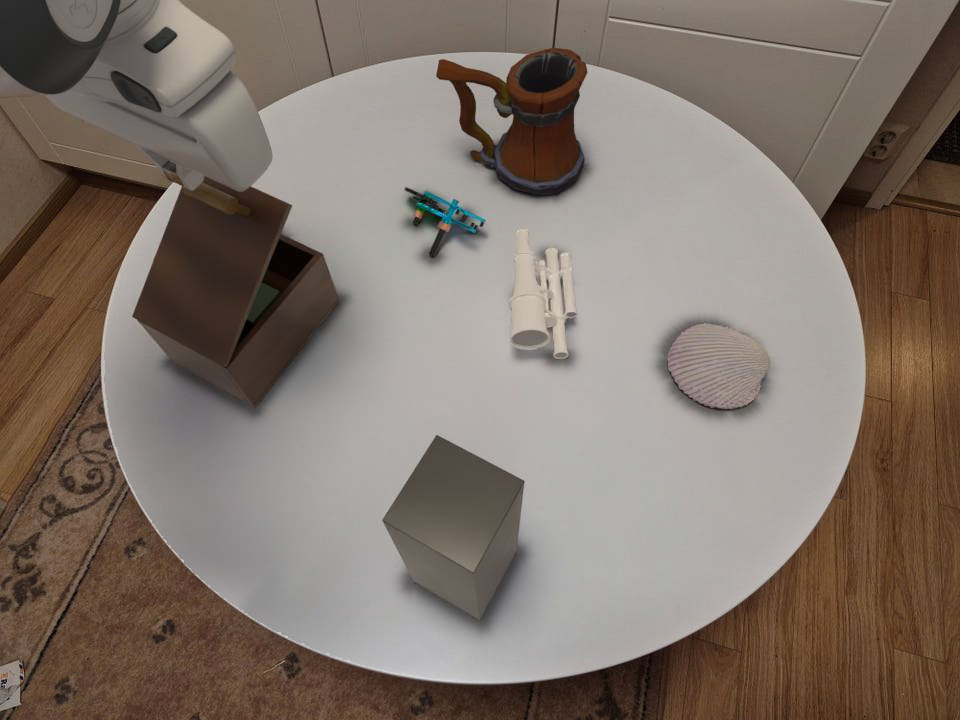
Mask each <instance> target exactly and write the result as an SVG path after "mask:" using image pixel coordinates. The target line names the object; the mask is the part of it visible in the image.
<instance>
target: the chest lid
mask: <svg viewBox="0 0 960 720" xmlns="http://www.w3.org/2000/svg"><path fill="white" fill-rule="evenodd" d="M292 208H293V204H291V203H288V202H286V201H284V200H282V199H280V198H278V197H276V196H273V195H271V194H269V193H266V192H265V191H262V190H260V189H259V188H255V187H253V186H250V187H249V188H248V189H247V190H246V191H243V192H239V191H236V190H233V189H231V188H229V187H227V186H225V185H223V184H221V183H219V182H216V181H214V180H212V179H210V178H208V177H206V176H204V180H203V182H202V183H201V184H200V185H199V186H198V187H197V188H196V189H195V190H193V191H191V190H189V189H186V188H185V187H183V186H181V187H180V190H179V193H178V195H177V198H176V201H175V203H174V206H173V207H172V211H171V213H170V216H169V218H168V221H167V224H166V227H165V229H164V232H163V234H162V236H161V240H160V242H159V244H158V248H157V250H156V252H155V255H154V258H153V261H152V263H151V266H150V268H149V271H148V273H147V276H146V278H145V282H144V284H143V287H142V289H141V292H140V294H139V297H138V300H137V302H136V305H135V308H134V310H133V313H132V315H131V317H132V318H133V319H135V320H136V321H137V320H138V321H140V322H142V323H144V324H146V325H148V326H149V327H151V328H153V329H155V330H157V331H159V332H160V333H162V334H164V335H166V336H168V337H170V338H171V339H173V340H175V341H177V342H179V343H181V344H182V345H184V346H186V347H188V348H190V349H192V350H193V351H195V352H197V353H199V354H201V355H203V356H204V357H206V358H208V359H210V360H212V361H214V362H215V363H217V364H219V365H221V366H223V367H227V366H228V364H229V361H230V359H231V356H232V354H233V352H234V349H235V347H236V344H237V342H238V339H239V337H240V334H241V332H242V329H243V327H244V324H245V322H246V319H247V317H248V314H249V312H250V309H251V307H252V304H253V302H254V300H255V297H256V295H257V292H258V290H259V287H260V285H261V282H262V280H263V277H264V275H265V272H266V270H267V267H268V265H269V262H270V260H271V257H272V255H273V252H274V250H275V248H276V245H277V243H278V240H279V238H280V235H281V234H282V232H283V230H284V227H285V226H286V222H287V220H288V217H289V215H290V213H291V210H292ZM138 321H137V322H138Z"/></svg>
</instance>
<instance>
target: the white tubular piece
mask: <svg viewBox="0 0 960 720" xmlns="http://www.w3.org/2000/svg"><path fill="white" fill-rule="evenodd" d="M529 234H530V231H529V229H527V228H519V229H517V231H516V237H517V239H516V241H517V243H516V250H515V254H514V256H513V258H512V259H513V260H512V261H513V263H514V270H515V271H514V274H515V275H514V276H515V277H514V278H515V282H514V288H513V293H512V296H511V297H510V298H509V300H508V307H509V310H510V311H511V333H510V335H509V343H510V344H511V346H513V347H514V348H516V349H519V350H524V351H525V350H526V351H528V350H529V351H530V350H531V351H532V350H537V349H540V348H543V347H545V346H546V345H548V344H549V342H550V340H551V335H550V333H549V330H548V328H552V337H553V350H554V352H553V353H552V356H553V358H554V359H557V360H563V359H566V358H568V357H569V351H568V349H567V338H566V326H565V323H566V321H567V320H568V319H574V318H576V317H577V316H578V311H577V308H576V299H575V291H574V289H575V288H574V281H573V267H572V261H571V257H572V255H571V253H570V252H568V251H565V252H561V253H560V254H559V249H557V248H556V247H549V248H547V249H546V250H545V251H544V255H545V257H546V260H544V259H540V260H539V262H538V261H536V255H535V254H534V253H533V251H532V247H531V245H530V238H529ZM558 255H559V256H558ZM559 260H560V266H559ZM545 261H546V262H545ZM560 267H561V268H560ZM536 272H537V273H539V277H540V284H538V281H537V275H536ZM561 279H562V286H561ZM547 282H548V284H547ZM562 288H563V296H562ZM563 297H564V298H563ZM563 299H564V306H565V311H564V309H563V308H564V307H563ZM549 302H550V307H549Z"/></svg>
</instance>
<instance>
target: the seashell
mask: <svg viewBox="0 0 960 720" xmlns="http://www.w3.org/2000/svg"><path fill="white" fill-rule="evenodd" d="M666 358H667V369H668V371H669V372H670V373H671V377H672V378H673V379H674V382H675V383H676V384H677V385H678V389H679V390H681V391H683V394H684V395H688V398H691V399H692V401H694V402H697V403H698V404H703V406H705V407H709V408H711V409H713V408H717V409H721V410H727V409H729V410H734V409H738V408H742V407H744V406H747V405H748V404H750V403H752V402H753V401H755V399H756V398H757V397H758V395H759V394H760V392H761V391H760V390H761V388H762V382H763V379H764V377H765V376H766V375H767V373H768V371H769V370H770V367H771V364H772V363H771V362H772V361H771V358H770V355H769V353H768V352H767V350H766V349H765V348H764V347H763V346H762V345H761V344H760V343H759V342H757V341H756V340H755V339H753V338H751V337H750V336H748V335H745V334H743V333H741V332H739V331H738V330H736V328H733V327H731V326H730V327H729V326H728V325H726V326H724V325H723V324H721V325H720V324H719V325H717V324H712V323H706V322H704V323H698V324H695V325H692V326H690V328H686V329H685V330H684V331H680V334H679V335H678V336H677V337H676V338H675V340H674V342H672V345H671V347H669V351H668V354H667V357H666Z"/></svg>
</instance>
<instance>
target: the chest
mask: <svg viewBox="0 0 960 720" xmlns="http://www.w3.org/2000/svg"><path fill="white" fill-rule="evenodd" d="M262 283H264V284H266V285H268V286H270V287H272V288H274V289H276V290H278V291H280V293H281V296H280V297H279V298H278V299H277V300H276V302H275V303H274V304H273V305H272V306H271V308H270V309H269V310H268V311H267V312H266V314H265V315H264V316H263V317H262V318H261V319H260V321H259V322H258V323H257V324H256V325H255V327H254V328H253V329H252V330H251V331H250V332H249V334H248V335H247V334H245V333H243V332H241V334H240V337H239V339H238V342H237V344H236V347H235V349H234V352H233V354H232V356H231V359H230V361H229V364H228V366H227V367H223V366H221V365H219V364H217V363H215V362H214V361H212V360H210V359H208V358H206V357H204V356H203V355H201V354H199V353H197V352H195V351H193V350H192V349H190V348H188V347H186V346H184V345H182V344H181V343H179V342H177V341H175V340H173V339H171V338H170V337H168V336H166V335H164V334H162V333H160V332H159V331H157V330H155V329H153V328H151V327H149V326H148V325H146V324H144V323H142V322H140V321H138V320H137V319H136V321H137V322H138V324H140V325H141V327H142V328H143V329H144V330H145V331H146V332H147V333H148V335H149V336H150V337H151V338H152V339H153V341H154V342H155V343H156V344H157V346H159V348H160V349H161V350H162V351H163V353H165V355H166V356H167V357H168V358H169V359H170V361H171V362H172V363H174V364H175V365H177V366H179V367H181V368H183V369H184V370H186V371H188V372H190V373H191V374H193V375H195V376H196V377H198V378H200V379H202V380H204V381H206V382H207V383H210V384H211V385H213V386H215V387H217V388H219V390H222V391H224V392H226V393H227V394H229V395H231V396H232V397H234V398H236V399H238V400H240V401H242V402H243V403H245V404H247V405H249V406H251V407H252V408H254V409H255V408H257V407H258V405H259V404H260V403H261V401H262V400H264V398H265V397H266V395H267V394H268V393H269V392H270V391H271V389H272V388H273V386H274V385H275V384H276V382H277V381H278V380H279V379H280V377H281V376H283V374H284V372H285V371H286V370H287V369H288V367H290V365H291V363H293V361H294V360H295V359H296V358H297V356H298V355H299V354H300V352H301V351H302V350H303V348H304V347H305V346H306V345H307V344H308V342H309V341H310V340H311V339H312V337H313V336H314V334H315V333H316V332H317V331H318V329H319V328H321V326H322V324H323V323H324V322H325V320H327V318H328V317H329V316H330V314H331V313H332V312H333V310H334V309H335V308H336V306H337V305H338V304H339V303H340V302H341V299H340V297H339V295H338V292H337V289H336V287H335V283H334V281H333V277H332V275H331V272H330V269H329V266H328V264H327V261H326V258H325V255H324V253H323V252H320V251H319V250H316V249H314V248H312V247H310V246H308V245H305V244H304V243H301V242H299V241H297V240H296V239H293V238H290V237H289V236H287V235H285V234H282V233H281V235H280V238H279V240H278V243H277V245H276V248H275V250H274V252H273V255H272V257H271V260H270V262H269V265H268V267H267V270H266V272H265V275H264V277H263V280H262Z"/></svg>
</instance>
